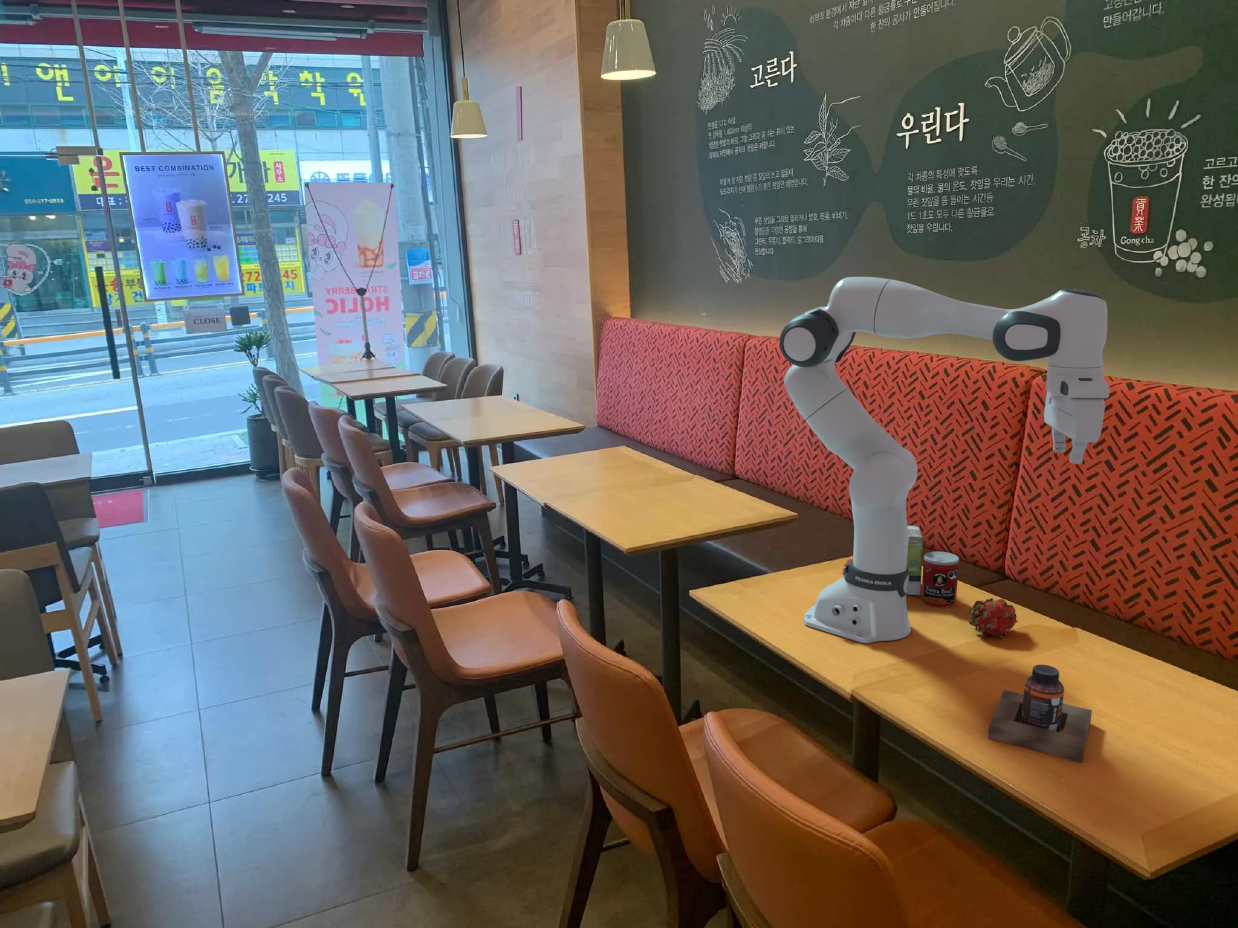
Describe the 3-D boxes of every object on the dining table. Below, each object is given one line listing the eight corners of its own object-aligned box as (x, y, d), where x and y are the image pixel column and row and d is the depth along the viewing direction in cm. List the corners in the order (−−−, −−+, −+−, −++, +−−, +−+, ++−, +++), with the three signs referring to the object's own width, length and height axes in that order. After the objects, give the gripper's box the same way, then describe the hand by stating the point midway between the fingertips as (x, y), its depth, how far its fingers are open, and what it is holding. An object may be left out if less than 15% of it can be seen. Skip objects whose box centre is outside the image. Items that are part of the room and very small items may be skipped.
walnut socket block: (987, 738, 146) (988, 724, 145) (1002, 702, 157) (1003, 689, 156) (1081, 762, 138) (1083, 748, 138) (1090, 723, 150) (1091, 709, 149)
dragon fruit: (965, 644, 184) (1006, 641, 189) (995, 633, 177) (1037, 631, 182) (953, 604, 188) (994, 603, 193) (982, 593, 181) (1024, 592, 186)
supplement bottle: (1063, 741, 144) (1070, 679, 142) (1025, 738, 145) (1031, 676, 143) (1053, 723, 150) (1060, 662, 147) (1016, 720, 151) (1022, 659, 148)
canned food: (920, 605, 201) (923, 560, 199) (921, 593, 208) (924, 549, 206) (955, 609, 198) (959, 564, 196) (956, 597, 205) (959, 553, 203)
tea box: (916, 582, 216) (920, 524, 212) (920, 597, 206) (924, 537, 203) (853, 578, 219) (856, 521, 216) (854, 592, 209) (857, 533, 206)
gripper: (1038, 374, 166) (1032, 445, 169) (1073, 389, 146) (1065, 469, 149) (1074, 374, 165) (1067, 445, 168) (1113, 389, 145) (1105, 470, 148)
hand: (1067, 457), depth 159 cm, fingers open, 8 cm apart
